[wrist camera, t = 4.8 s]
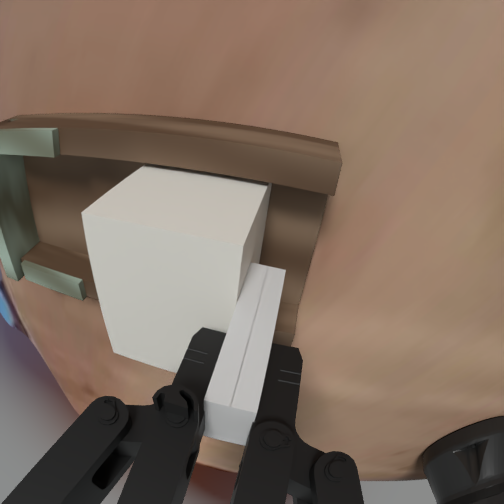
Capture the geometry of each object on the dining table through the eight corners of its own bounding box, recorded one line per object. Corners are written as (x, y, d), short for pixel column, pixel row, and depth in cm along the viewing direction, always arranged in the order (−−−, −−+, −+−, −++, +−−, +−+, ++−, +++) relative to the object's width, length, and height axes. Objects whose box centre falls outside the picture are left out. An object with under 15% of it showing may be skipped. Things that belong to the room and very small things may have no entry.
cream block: (254, 293, 20) (226, 386, 14) (164, 272, 21) (113, 352, 15) (273, 170, 16) (243, 246, 10) (161, 153, 16) (81, 212, 10)
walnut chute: (295, 311, 22) (287, 363, 18) (39, 246, 24) (7, 276, 20) (337, 142, 15) (343, 170, 12) (16, 115, 17) (-29, 135, 14)
